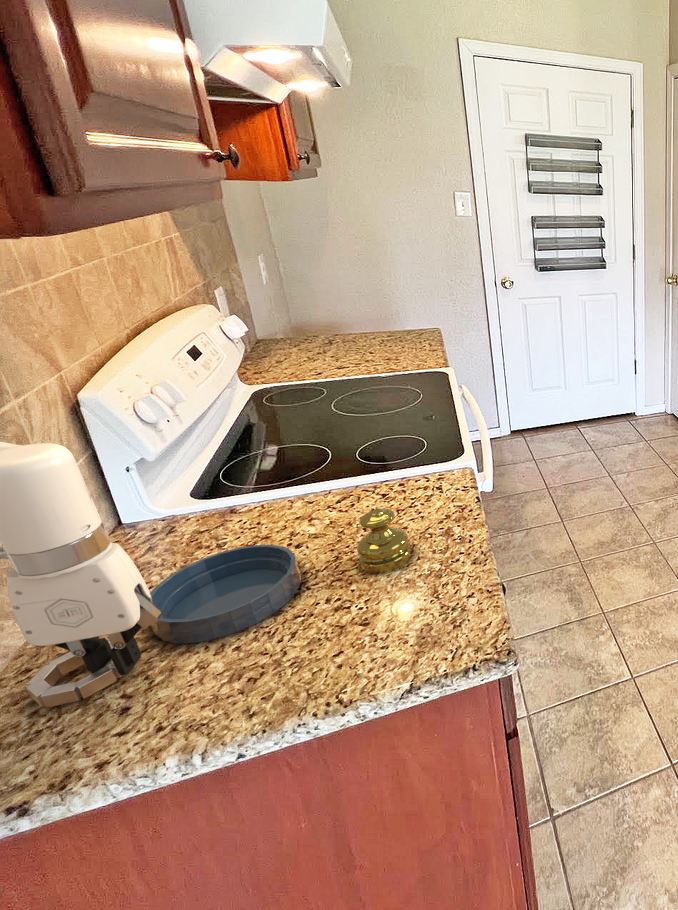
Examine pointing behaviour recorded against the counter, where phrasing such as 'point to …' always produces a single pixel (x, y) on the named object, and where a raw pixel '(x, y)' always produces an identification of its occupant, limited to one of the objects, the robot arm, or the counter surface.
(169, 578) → the bowl
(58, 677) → the ring
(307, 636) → the counter surface
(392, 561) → the brass weight
